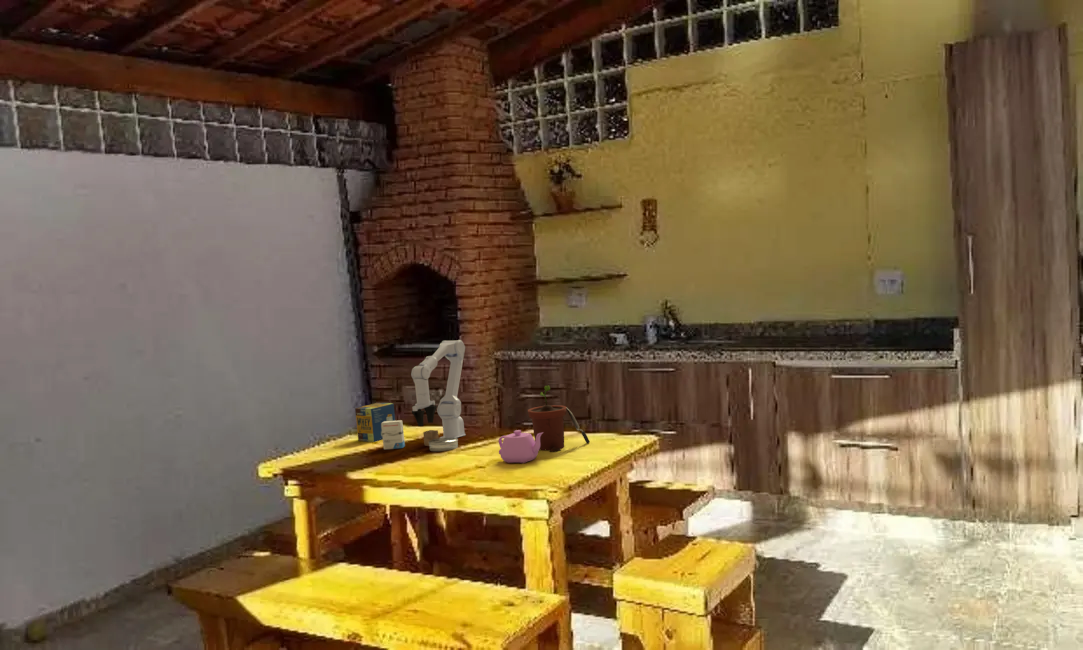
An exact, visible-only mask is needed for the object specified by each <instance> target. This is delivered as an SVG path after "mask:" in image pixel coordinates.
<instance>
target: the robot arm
mask: <svg viewBox="0 0 1083 650" xmlns="http://www.w3.org/2000/svg"><path fill="white" fill-rule="evenodd" d="M465 351H466V345H465V343H464V342H463V340H462V339H458V340H442V341H441V342H440V344H439V347H438V348H437V350H436V351H435V352H434V353H433V354H432V355H428V356H426V357H425V359H424V360H422V362H420V363H419V364H418V365H416V366H414V367H413V368H412V369H411V373H410V376H411V378H412V380H413V383H414V387H415V388H414V389H415V396H416V403H415V404H414V405H413V406H412V407H411V408H412V410H411V414H412V416H413V417H414V418H415V420H416V423H417V426H418V427H424V417H425V416H424V415H425V414H426V418H427V423H429V424H430V423H431V424H432V423H433V422H434V418H435V413H436V412H437V414H438V416H439V417H440V419H441V422H442V432H443V436H440V437H439V438H457V439H458V438H460V437H461V438H462V437H464V436H466V435H467V434H466V432H465V423H464V419H463V418H462V417H461V416H460V415H461V413H462V402H461V399H460V398H458V393H459V389H460V388H459V387H460V381H461V376H462V375H461V374H462V369H463V362H464V361H463V360H464V357H465ZM443 357H445V359H447V360H449V362H450V365H449V371H448V377H447V383H446V388H445V393H444V394H445V395H444V396H443V397H441V399H440V400H439V403H438V406H437V405H436V403H435V402H436V401H435V399H434V400H431V397H430V387H429V378H430V377H431V373H432V371H433V370H435V369H436V368H437V366H438V362H439V361H440V360H441V359H442V358H443ZM423 409H424V410H423ZM436 410H437V411H436Z"/></svg>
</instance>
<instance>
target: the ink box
mask: <svg viewBox="0 0 1083 650" xmlns="http://www.w3.org/2000/svg"><path fill="white" fill-rule="evenodd" d="M381 427H382V436H383V439H382V444H383V445H382V446H383V450H394V449H395V450H396V449H403V448H404V447H406V443H405V434H404V425H403V420H401V419H400V420H395V421H384V422H382V423H381Z"/></svg>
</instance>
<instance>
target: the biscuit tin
mask: <svg viewBox="0 0 1083 650" xmlns="http://www.w3.org/2000/svg"><path fill="white" fill-rule="evenodd" d="M458 441H459V439H458V438H440V437H439V439H434V440H431V441H429V446H428V447H429V451H431V452H446V451H451V450H452V451H453V450H455V449H458V448H459V444H458V443H459V442H458Z"/></svg>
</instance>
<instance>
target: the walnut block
mask: <svg viewBox="0 0 1083 650" xmlns="http://www.w3.org/2000/svg"><path fill="white" fill-rule="evenodd" d="M422 434H423V442H424V444H423V445H424V446H427V447H429V441H431V440H434V439H439V438H440V437H439V429H437V430H435V429H429V430H426V431H423V433H422Z"/></svg>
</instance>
